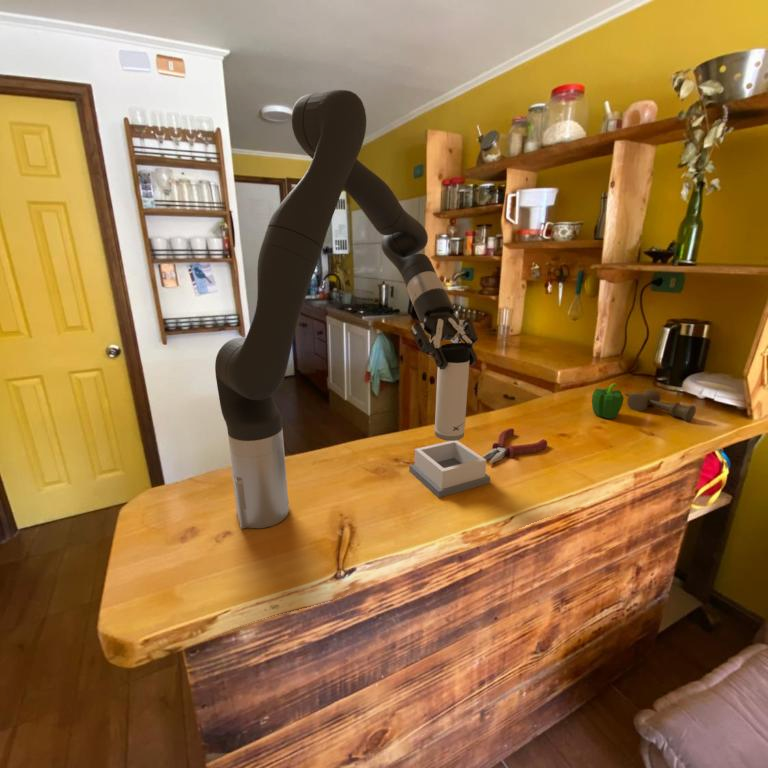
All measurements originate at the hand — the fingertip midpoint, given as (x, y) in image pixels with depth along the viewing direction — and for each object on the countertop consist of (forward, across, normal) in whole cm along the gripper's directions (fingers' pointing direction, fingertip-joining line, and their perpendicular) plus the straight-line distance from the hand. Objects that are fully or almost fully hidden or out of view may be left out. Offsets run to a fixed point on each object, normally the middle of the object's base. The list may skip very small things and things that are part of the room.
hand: (459, 365), depth 82 cm
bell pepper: (+11, +63, +26) cm, 69 cm away
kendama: (+14, +80, +23) cm, 85 cm away
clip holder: (+17, 0, +19) cm, 26 cm away
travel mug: (+10, 0, +13) cm, 16 cm away
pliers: (+14, +21, +24) cm, 35 cm away
